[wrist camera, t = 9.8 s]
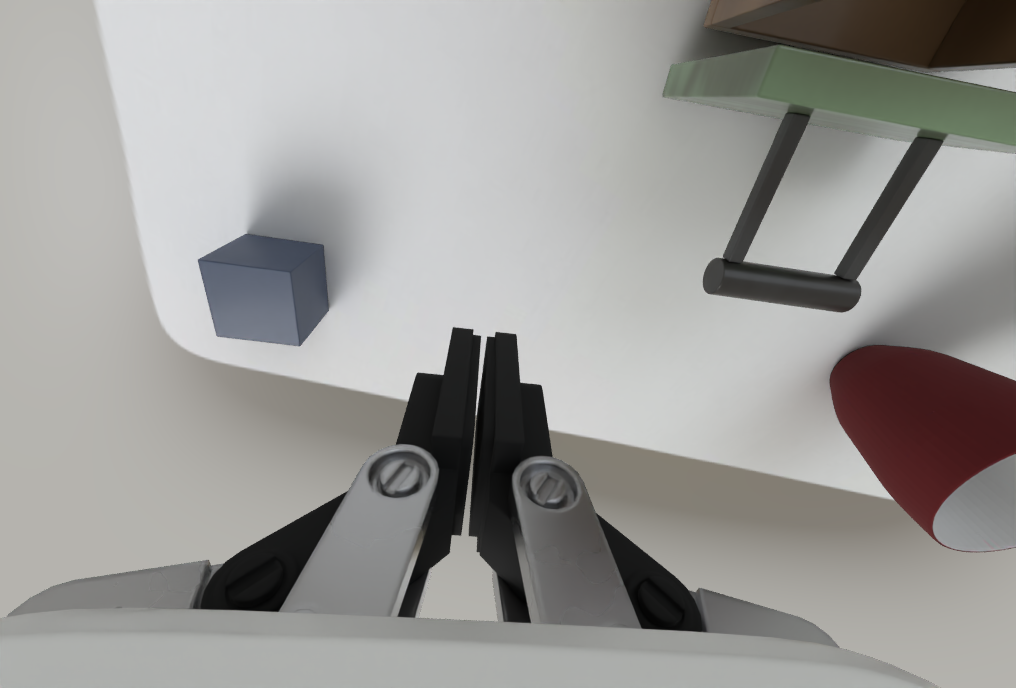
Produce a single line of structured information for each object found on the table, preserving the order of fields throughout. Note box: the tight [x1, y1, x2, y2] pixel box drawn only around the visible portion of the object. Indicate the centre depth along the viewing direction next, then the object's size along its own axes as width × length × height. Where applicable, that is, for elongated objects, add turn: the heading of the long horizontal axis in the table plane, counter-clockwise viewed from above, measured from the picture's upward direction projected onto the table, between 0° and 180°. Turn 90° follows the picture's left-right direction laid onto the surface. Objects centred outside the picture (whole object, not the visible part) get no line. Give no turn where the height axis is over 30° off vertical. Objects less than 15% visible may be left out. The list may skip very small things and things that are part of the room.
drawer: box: [663, 0, 1016, 312], centre depth 13 cm, size 20×11×8 cm, turn 171°
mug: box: [830, 345, 1016, 552], centre depth 22 cm, size 10×8×10 cm
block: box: [198, 234, 329, 346], centre depth 21 cm, size 4×4×4 cm
